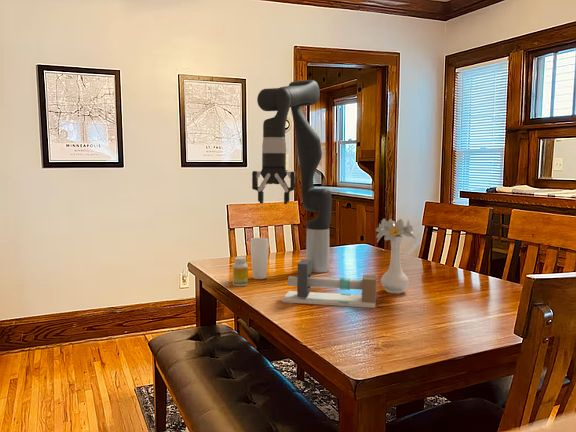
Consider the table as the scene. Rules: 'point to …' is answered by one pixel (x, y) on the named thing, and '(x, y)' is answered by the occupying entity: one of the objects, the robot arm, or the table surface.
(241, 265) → the supplement bottle
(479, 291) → the table surface
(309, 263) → the collar
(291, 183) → the robot arm
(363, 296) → the pipe stand
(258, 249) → the drinking glass
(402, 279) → the flower vase
